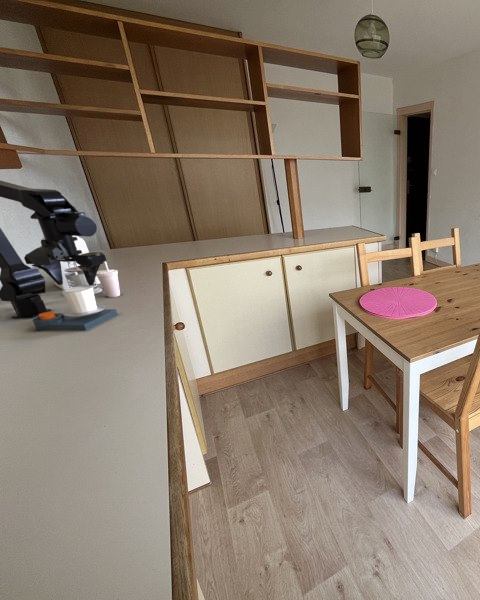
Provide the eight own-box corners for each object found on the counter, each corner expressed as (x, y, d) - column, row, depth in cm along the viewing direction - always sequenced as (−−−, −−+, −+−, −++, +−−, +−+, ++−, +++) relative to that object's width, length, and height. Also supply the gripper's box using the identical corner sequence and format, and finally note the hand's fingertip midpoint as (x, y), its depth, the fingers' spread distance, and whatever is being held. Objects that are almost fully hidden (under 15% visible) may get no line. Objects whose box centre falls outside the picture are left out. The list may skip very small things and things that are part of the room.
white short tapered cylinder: (81, 314, 95) (73, 293, 92) (63, 312, 96) (55, 291, 93) (105, 306, 101) (98, 286, 98) (88, 304, 102) (81, 284, 100)
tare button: (37, 320, 92) (35, 315, 91) (47, 316, 95) (45, 311, 94) (48, 320, 92) (46, 315, 92) (59, 316, 95) (57, 311, 95)
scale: (30, 332, 92) (26, 321, 90) (72, 314, 104) (68, 304, 103) (83, 332, 93) (78, 321, 91) (117, 314, 105) (114, 304, 103)
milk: (101, 283, 134) (80, 221, 124) (64, 290, 125) (39, 224, 115) (91, 278, 140) (71, 218, 130) (55, 284, 131) (30, 221, 121)
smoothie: (128, 294, 122) (118, 259, 117) (110, 299, 117) (98, 263, 112) (117, 292, 124) (106, 257, 119) (98, 297, 119) (86, 261, 114)
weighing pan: (53, 317, 94) (52, 316, 93) (82, 304, 103) (82, 303, 103) (88, 317, 94) (87, 316, 94) (114, 304, 103) (114, 303, 103)
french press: (73, 298, 117) (47, 231, 108) (63, 292, 122) (38, 228, 113) (106, 291, 125) (85, 228, 116) (95, 286, 130) (75, 225, 121)
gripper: (-8, 238, 84) (15, 293, 90) (64, 240, 85) (83, 294, 90) (35, 232, 94) (54, 281, 100) (100, 234, 95) (115, 282, 101)
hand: (76, 285), depth 97 cm, fingers open, 9 cm apart
